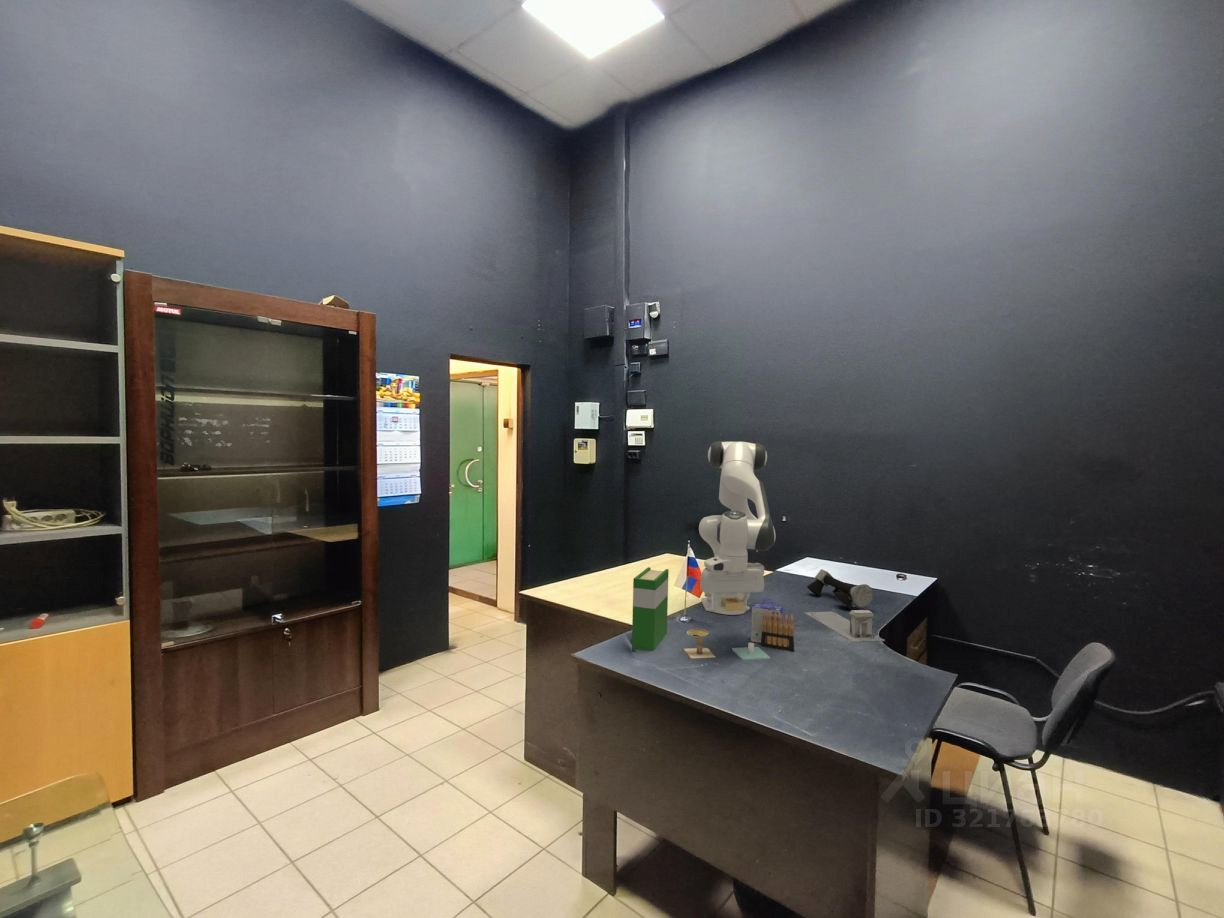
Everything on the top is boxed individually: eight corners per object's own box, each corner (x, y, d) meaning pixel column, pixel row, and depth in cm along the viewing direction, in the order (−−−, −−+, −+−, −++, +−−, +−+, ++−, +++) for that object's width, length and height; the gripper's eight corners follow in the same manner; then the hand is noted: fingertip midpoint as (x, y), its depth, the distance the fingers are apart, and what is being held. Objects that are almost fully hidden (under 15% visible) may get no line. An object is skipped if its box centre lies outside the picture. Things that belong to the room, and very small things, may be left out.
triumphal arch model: (852, 643, 193) (853, 616, 193) (804, 614, 226) (805, 590, 226) (885, 642, 195) (886, 615, 195) (832, 613, 228) (833, 590, 228)
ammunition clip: (760, 646, 188) (761, 611, 187) (761, 644, 189) (762, 609, 189) (793, 651, 183) (794, 615, 183) (794, 650, 185) (795, 614, 185)
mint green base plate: (731, 654, 180) (732, 638, 180) (757, 653, 181) (758, 637, 181) (742, 665, 171) (743, 649, 171) (770, 663, 173) (770, 648, 172)
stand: (683, 653, 180) (684, 633, 180) (707, 652, 181) (707, 632, 181) (691, 663, 172) (691, 642, 172) (715, 661, 173) (716, 641, 173)
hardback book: (646, 634, 197) (648, 567, 196) (666, 637, 194) (668, 569, 193) (631, 652, 180) (633, 578, 179) (653, 655, 178) (655, 580, 177)
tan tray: (719, 605, 179) (719, 597, 179) (737, 604, 180) (737, 597, 179) (725, 611, 173) (726, 603, 173) (744, 610, 174) (744, 603, 174)
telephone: (867, 626, 229) (823, 603, 258) (885, 602, 230) (840, 582, 259) (843, 603, 225) (802, 582, 254) (863, 579, 227) (819, 561, 256)
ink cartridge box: (782, 641, 192) (783, 600, 192) (780, 647, 187) (781, 604, 187) (753, 636, 197) (755, 596, 196) (750, 641, 192) (751, 600, 191)
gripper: (760, 560, 180) (758, 602, 181) (699, 561, 177) (698, 603, 178) (768, 564, 174) (767, 608, 175) (705, 565, 171) (704, 609, 172)
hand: (731, 606), depth 176 cm, fingers closed on tan tray, 6 cm apart
